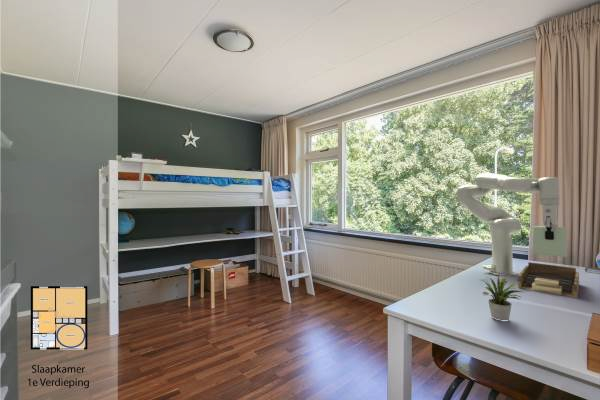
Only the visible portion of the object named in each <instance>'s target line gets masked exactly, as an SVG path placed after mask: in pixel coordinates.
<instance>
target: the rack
mask: <svg viewBox="0 0 600 400" xmlns="http://www.w3.org/2000/svg"><path fill="white" fill-rule="evenodd" d="M535 278H543V279H550V280H557V281H559V286H562V295H558V294H552V293H548V294H549V295H556V296H560V297H561V296H562V297H567V298H571V299H572V298H573V299H578V297H579V296H578V295H579V288H580V272H579V271H577V268H576V267H571V266H563V265H562V266H561V265H554V264H546V263H537V262H530V261H528V264H527V265H525V267H524V268H523V269H522V270H521V271H520V273H519V274H518V275H517V282H520V283H517V286H519V287H517V288H518V289H521V290H526V291H533V292H538V293H541V292H540V291H535V290H532V284H533V282H535ZM542 293H543V294H547V293H546V292H542Z"/></svg>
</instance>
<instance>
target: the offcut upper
mask: <svg viewBox="0 0 600 400" xmlns="http://www.w3.org/2000/svg"><path fill="white" fill-rule="evenodd" d="M535 285H538V286H545V287H551V288H557V289H558V288H559V281H557V280H550V279H543V278H535Z"/></svg>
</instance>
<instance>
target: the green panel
mask: <svg viewBox="0 0 600 400" xmlns="http://www.w3.org/2000/svg"><path fill="white" fill-rule="evenodd" d="M567 229H568V227H566V226H565V227H561V226H558V227H557V226H554V227H553V232H554V240H547V239H545V226H541V225H540V226H539V225H538V226H537V225H535V226H533V253H534V255H540V256H541V255H542V256H549V257H550V256H551V257H561V258H567V257H568V239H567V238H568V235H567V234H568V232H567V231H568V230H567Z"/></svg>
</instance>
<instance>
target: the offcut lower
mask: <svg viewBox="0 0 600 400" xmlns="http://www.w3.org/2000/svg"><path fill="white" fill-rule="evenodd" d="M532 290H535V291H534V292H537V291H540V292H539V293H543V292H546V293H545V294H549V293H552V294H551V295H554V294H558V295H557V296H560V295H562V286H559V288H558V289H557V288H551V287H545V286H538V285H535V282H533V284H532Z"/></svg>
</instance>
